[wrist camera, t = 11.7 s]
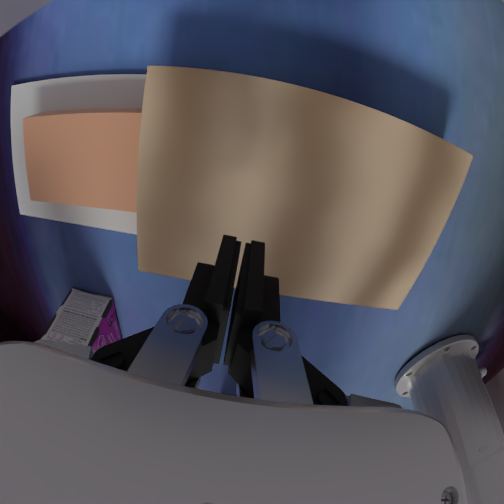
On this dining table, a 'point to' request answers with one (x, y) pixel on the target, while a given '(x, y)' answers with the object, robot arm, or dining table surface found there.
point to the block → (84, 157)
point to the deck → (289, 185)
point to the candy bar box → (85, 320)
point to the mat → (67, 98)
